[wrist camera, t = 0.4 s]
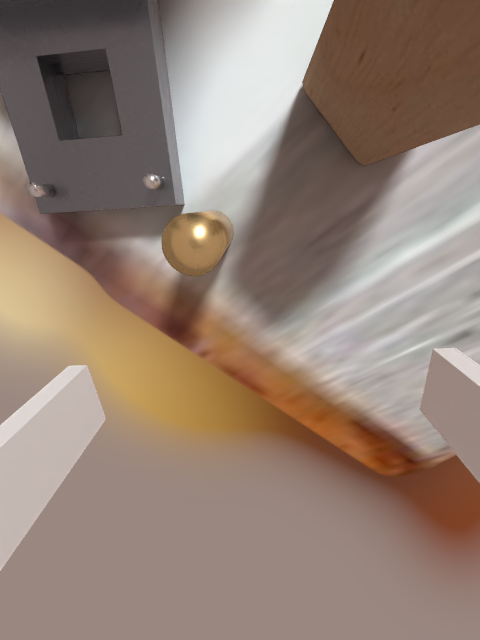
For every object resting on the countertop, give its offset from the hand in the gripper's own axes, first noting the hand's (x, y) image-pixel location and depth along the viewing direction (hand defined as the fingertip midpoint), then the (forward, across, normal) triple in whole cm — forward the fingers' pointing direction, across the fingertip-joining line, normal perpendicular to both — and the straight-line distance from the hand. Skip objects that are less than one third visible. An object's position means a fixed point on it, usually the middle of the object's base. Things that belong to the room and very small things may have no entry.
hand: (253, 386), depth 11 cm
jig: (+23, -14, +16) cm, 32 cm away
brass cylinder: (+23, -4, +4) cm, 24 cm away
